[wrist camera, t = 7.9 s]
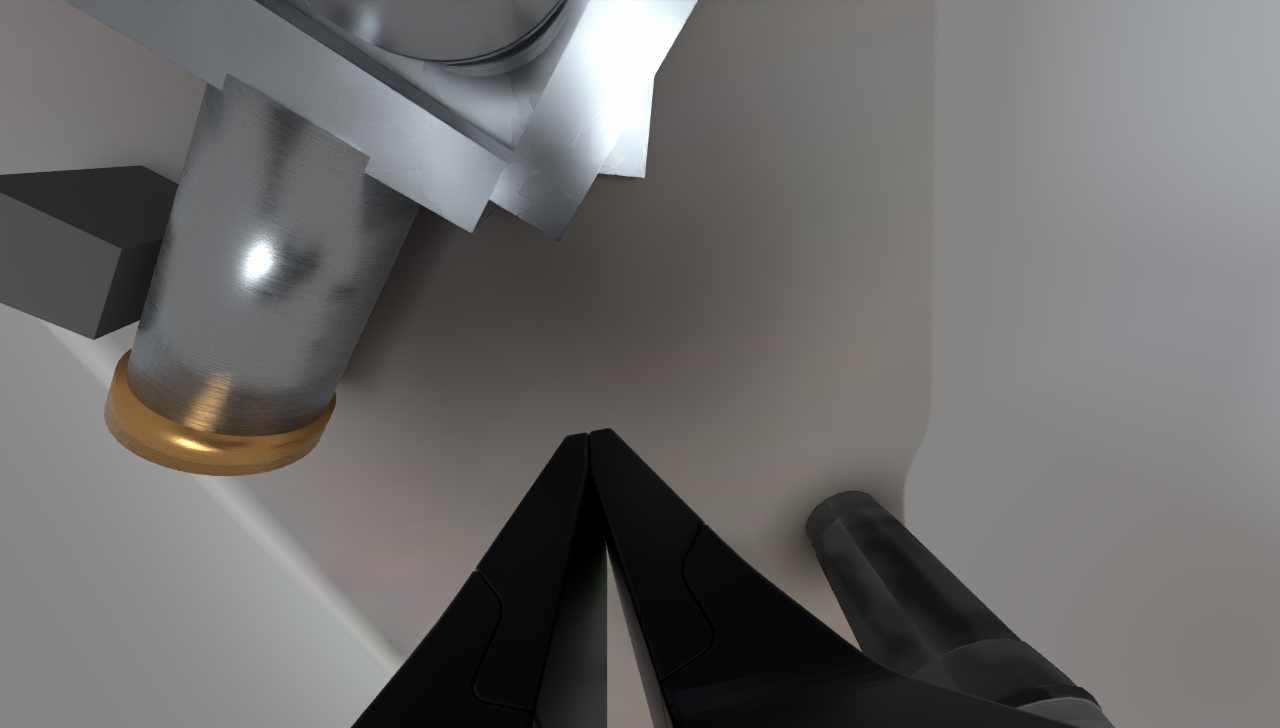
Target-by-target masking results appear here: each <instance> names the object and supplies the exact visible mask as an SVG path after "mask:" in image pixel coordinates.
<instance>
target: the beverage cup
mask: <svg viewBox="0 0 1280 728" xmlns="http://www.w3.org/2000/svg"><path fill="white" fill-rule="evenodd" d="M807 535H808V537H809V539H810V541H811V542H812V546H813V548H814V550H815V552H816V557H817V559H818V561H819V563H820V565H821V567H822V569H823V571H824V574H825V576H826V578H827V580H828V582H829V584H830V586H831V588H832V590H833V592H834V594H835V596H836V598H837V600H838V603H839V605H840V607H841V609H842V611H843V613H844V615H845V617H846V619H847V621H848V623H849V625H850V627H851V629H852V632H853V634H854V636H855V638H856V640H857V642H858V644H859V646H860V648H861V650H862V652H863V653H864V654H866V655H868V656H869V657H871V658H872V659H874V660H875V661H877V662H879V663H881V664H883V665H885V666H887V667H888V668H890V669H892V670H895V671H897V672H899V673H902V674H904V675H906V676H909V677H912V678H915V679H919V680H922V681H925V682H929V683H932V684H936V685H939V686H942V687H946V688H949V689H953V690H956V691H959V692H963V693H966V694H969V695H973V696H976V697H980V698H983V699H986V700H990V701H993V702H997V703H1000V704H1003V705H1007V706H1010V707H1013V708H1017V709H1020V710H1024V711H1027V712H1030V713H1034V714H1037V715H1041V716H1044V717H1047V718H1051V719H1054V720H1057V721H1061V722H1064V723H1068V724H1071V725H1074V726H1078V727H1081V728H1115V727H1114V726H1113V725H1112V724H1111V722H1110V721H1109V720H1108V719H1107V718H1106V717H1105V715H1104V714H1103V713H1102V709H1101V707H1100V706H1099V704H1098V703H1097V701H1096V700H1095V698H1094V697H1093V696H1092V695H1091V694H1090V693H1088V692H1087V691H1086V690H1084V689H1083V688H1082V687H1077V686H1076V685H1075V684H1074V683H1073V682H1072V681H1071V680H1070V679H1069V678H1068V677H1067V676H1066V675H1065V674H1064V673H1063V672H1061V671H1060V670H1059V669H1058V668H1057V667H1055V666H1054V665H1053V664H1052V663H1050V662H1049V661H1048V660H1047V659H1046V658H1045V657H1043V656H1042V655H1041V654H1040V653H1038V652H1037V651H1036V650H1035V649H1034V648H1032V647H1031V646H1030V645H1029V644H1027V643H1026V642H1023V641H1021V639H1020V638H1019V637H1017V636H1016V635H1015V634H1014V633H1013V632H1012V631H1011V630H1010V629H1009V628H1008V627H1007V626H1006V625H1005V624H1004V623H1003V622H1002V621H1001V620H1000V619H999V618H998V617H997V616H996V615H995V614H994V613H993V612H992V611H991V610H990V609H989V608H988V607H987V606H986V605H985V604H983V603H982V602H981V601H980V600H979V599H978V598H977V597H976V596H975V595H974V594H973V593H972V592H971V591H970V590H969V589H968V588H967V587H966V586H965V585H964V584H963V583H962V582H961V581H960V580H959V579H958V578H957V577H956V576H955V575H954V574H953V573H952V572H951V571H950V570H949V569H947V568H946V567H945V566H944V565H943V564H942V563H941V562H940V561H939V560H938V559H937V558H936V557H935V556H934V555H933V554H932V553H931V552H930V551H929V550H928V549H927V548H926V547H925V546H924V545H923V544H922V543H921V542H919V540H918V539H917V538H916V537H915V536H914V535H912V534H911V533H910V532H909V531H908V530H907V529H906V528H905V527H904V526H903V525H902V524H901V523H900V522H899V521H898V520H897V519H896V518H895V517H894V516H893V515H891V514H890V513H889V512H888V511H886V510H885V509H884V508H883V507H881V506H880V505H879V504H878V503H877V502H876V500H875V499H873V498H872V497H871V496H870V495H869V494H866V493H863V492H859V491H854V492H845V493H841V494H837V495H835V496H833V497H831V498H829V499H827V500H825V501H824V502H823V503H822V504H820V505H819V506H818V507H817V508H816V509H815V510H814V512H813V513H812V514H811V516H810V517H809V520H808V523H807Z"/></svg>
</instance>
